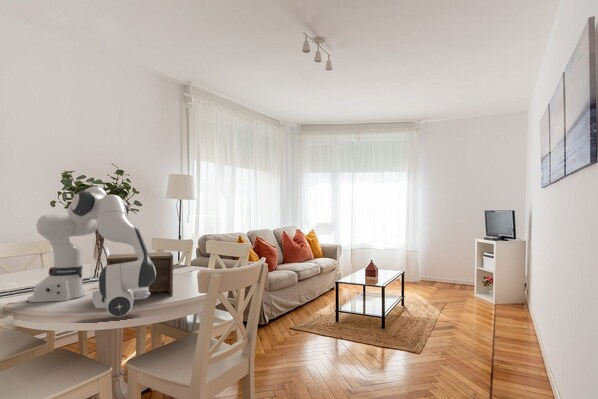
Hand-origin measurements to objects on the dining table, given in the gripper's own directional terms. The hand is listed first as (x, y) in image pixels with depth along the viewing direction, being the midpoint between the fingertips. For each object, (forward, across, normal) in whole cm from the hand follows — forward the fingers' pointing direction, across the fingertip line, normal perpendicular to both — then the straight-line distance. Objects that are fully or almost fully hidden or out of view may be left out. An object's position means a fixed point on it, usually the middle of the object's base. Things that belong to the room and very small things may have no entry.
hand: (122, 290), depth 156 cm
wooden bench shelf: (+24, -7, +8) cm, 26 cm away
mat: (+10, 0, +8) cm, 13 cm away
